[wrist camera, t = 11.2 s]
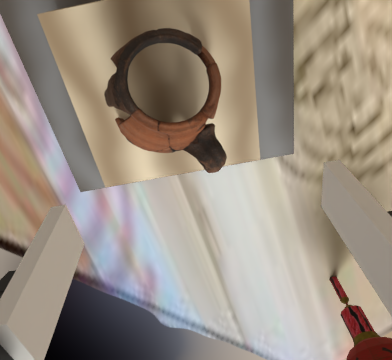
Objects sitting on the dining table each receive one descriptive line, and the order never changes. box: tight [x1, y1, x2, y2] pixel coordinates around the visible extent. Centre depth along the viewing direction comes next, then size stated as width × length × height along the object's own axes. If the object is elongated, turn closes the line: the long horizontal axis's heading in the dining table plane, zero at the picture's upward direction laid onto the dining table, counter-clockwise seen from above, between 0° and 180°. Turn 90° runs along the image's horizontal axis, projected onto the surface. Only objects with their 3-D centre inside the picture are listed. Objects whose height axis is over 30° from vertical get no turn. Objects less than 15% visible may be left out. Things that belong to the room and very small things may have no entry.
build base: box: [0, 0, 294, 192], centre depth 30 cm, size 26×22×6 cm
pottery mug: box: [104, 28, 227, 173], centre depth 26 cm, size 12×10×8 cm
